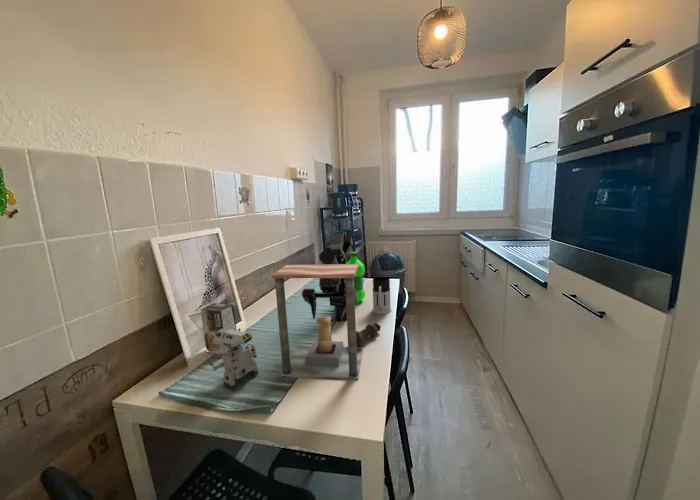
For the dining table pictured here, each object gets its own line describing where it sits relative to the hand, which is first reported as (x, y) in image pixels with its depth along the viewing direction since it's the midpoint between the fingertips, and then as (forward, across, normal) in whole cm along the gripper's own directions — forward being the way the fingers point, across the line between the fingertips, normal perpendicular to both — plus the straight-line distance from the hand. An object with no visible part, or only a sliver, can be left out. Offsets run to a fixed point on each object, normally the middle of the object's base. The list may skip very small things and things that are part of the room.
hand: (327, 318), depth 98 cm
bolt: (+2, +13, +14) cm, 19 cm away
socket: (+12, 0, +4) cm, 13 cm away
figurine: (+21, -24, -4) cm, 32 cm away
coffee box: (+9, -38, +8) cm, 40 cm away
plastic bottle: (-26, +4, +44) cm, 51 cm away
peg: (+12, 0, +4) cm, 12 cm away
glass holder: (-16, +17, +33) cm, 40 cm away
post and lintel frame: (+13, 0, +3) cm, 14 cm away
